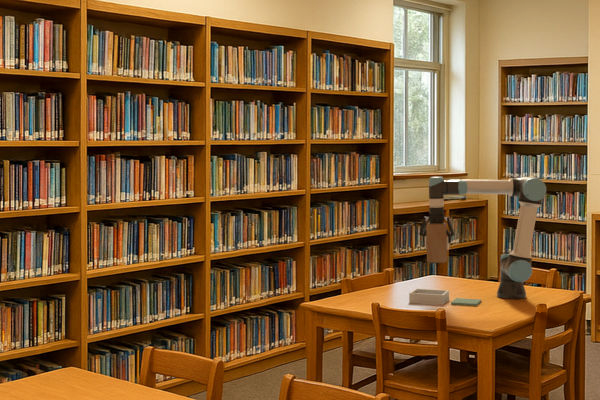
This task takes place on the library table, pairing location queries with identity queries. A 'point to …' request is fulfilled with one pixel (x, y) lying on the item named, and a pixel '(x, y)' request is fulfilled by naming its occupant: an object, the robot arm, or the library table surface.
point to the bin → (429, 296)
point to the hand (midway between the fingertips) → (437, 249)
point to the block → (436, 243)
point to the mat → (466, 302)
